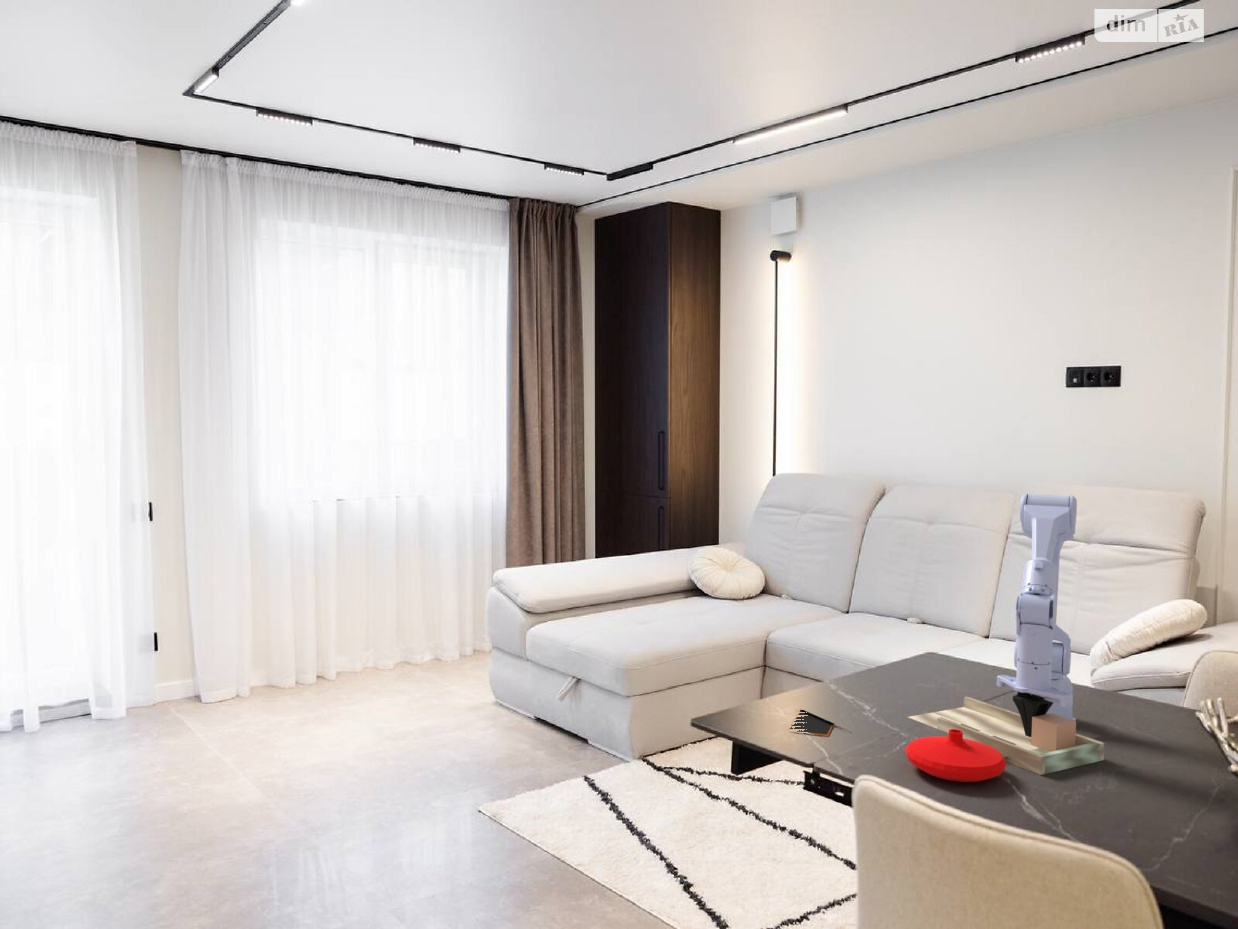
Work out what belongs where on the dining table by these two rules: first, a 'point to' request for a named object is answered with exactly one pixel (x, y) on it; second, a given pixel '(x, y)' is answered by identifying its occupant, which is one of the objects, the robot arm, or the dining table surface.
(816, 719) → the smartphone
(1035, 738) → the peach block
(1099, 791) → the dining table surface
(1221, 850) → the dining table surface
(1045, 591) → the robot arm
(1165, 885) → the dining table surface
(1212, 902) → the dining table surface
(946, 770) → the red disc with nozzle
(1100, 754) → the tray
